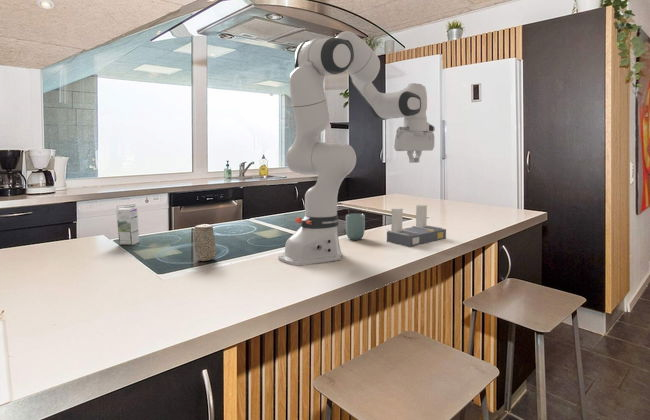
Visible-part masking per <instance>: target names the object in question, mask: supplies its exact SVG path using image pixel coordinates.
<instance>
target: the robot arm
mask: <svg viewBox="0 0 650 420" xmlns="http://www.w3.org/2000/svg"><path fill="white" fill-rule="evenodd" d="M380 70H381V60H380V58H379V56H378V54H377V53H376V52H375V51H374V50H373V49H372V47H370V45H369V44H368V43H366V42H365V40H363V39H362V38H361V37H360V36H358V35H357V34H356V33H355V32H352V31H349V30H344V31H342V32H340V33H338V34H337V35H336V36H335V37H318V38H313V39H308V40H305V41H303V42H301V43H299V45H298V46H297V47H296V49H295V52H294V69H293V70H292V71H291V73H290V74H289V92H290V94H289V95H290V101H291V105H292V110H293V114H294V121H295V129H296V130H295V138H294V141H293V143H292V144H291V146H290V147H289V148H288V150H287V152H286V157H285V160H286V165H287V166H288V167H287V168H288V169H289V170H290V171H291V172H293V173H296V174H300V175H306V176H307V175H309V176H313V175H314V176H317V180H316V182H315V184H314V185H313V186H311V187H309V188H308V189H307V190H306V192H305V194H304V215H303V218H302V217H298V216H297V217H295V220H294V221H295V223H296V224H300V227H299V228H298V229H297V230H296V231H295V232H294V233H293V234H292V235H291V236H290V237H289V238H288V239H287V240H286V242H285V246H284V253H281V254H278V256H277V258H278V260H279V261H281V262H284V263H287V264H289V265H295V266H307V265H314V264H320V263H326V262H327V263H328V262H333V261H334V262H335V261H340V260H341V257H342V256H343V253H342V250H341V246H340V241H339V233H338V232H339V231H338V226H339V215H338V194H339V189H340V187H341V185H342V182H343V181H344V179H345V178H346V176H348V175H349V174H350V173H351V172H352V171H353V170H354V168H355V166H356V164H357V155H356V152H355V149H354V148H353V146H352V145H351V144H347V143H343V142H337V141H336V142H333V141H332V142H321V140H320V135H321V133H322V132H324V131H325V130H326V129H327V128H328V126H329V124H330V121H331V118H330V115H329V114H330V113H329V108H328V101H327V97H326V92H325V88H324V80H325V77H326V76H331V75H339V74H342V73H344V72H346V73H347V74H348V75H349V77H350V82H351V84H352V86H353V87H354V89H355V90H356V91H357V92H358V94H359V95H360V97H362V99H363V100H364V102H365V104H367V106H368V107H369V109H370V112H371V113H372V115H373V116H374V118H375V119H376V120H379V121H387V120H391V119H392V120H393V119H399V118H403V126H399V127H398V128H397V129H396V132H395V133H396V134H395V137H394V144H393V146H394V148H393V149H394V151H396V152H407V153H406V154H407V157H408V162H409V164H411V163H413V164H414V163H420V158H421V156H422V153H423V152H422V151H425V152H426V151H427V152H428V151H431V152H432V151H433V150H434V149H435V133H434V132H436V131H435V130H436V128H435V126H434V125H433V124H430V123H429V122H427V121H428V120H427V119H428V118H427V109H428V95H427V89H426V86H425V85H423V84H422V83H421V84H420V83H408V84H406V86H405V88H403V89H401V90H399V91H395V92H394V91H393V92H388V93H387V92H386V93H385V92H380V91H379V90H378V89H377V87H375V85H374V83H373V81H375V80H376V78H377V76H378V74H379V73H380ZM414 153H415V155H414ZM414 156H415V157H414Z"/></svg>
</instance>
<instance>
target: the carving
mask: <svg viewBox="0 0 650 420" xmlns="http://www.w3.org/2000/svg"><path fill="white" fill-rule="evenodd" d="M215 237H216V236H215V233H214V227H213V225H212V224H207V223H206V224H205V223H204V224H197V225H195V226H194V229H193V241H194V242H193V245H194V253H195V257H196V259H197V261H199V262H207V261H211V260H214V259H216V258H217V246H216V239H215Z"/></svg>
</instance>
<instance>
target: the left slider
mask: <svg viewBox="0 0 650 420" xmlns="http://www.w3.org/2000/svg"><path fill="white" fill-rule="evenodd" d="M390 224H391V225H390V226H391V228H390V231H394V232H400V231H402V229H403V208H400V207H393V208H391V223H390Z"/></svg>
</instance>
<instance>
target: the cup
mask: <svg viewBox="0 0 650 420" xmlns="http://www.w3.org/2000/svg"><path fill="white" fill-rule="evenodd" d="M365 219H366V215H365V214H364V213H347V214H346V215H345V233H346V236H347V238H348V239H349V240H351V241H359V240H362V239H363V238H364V235H365V227H366V221H365Z"/></svg>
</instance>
